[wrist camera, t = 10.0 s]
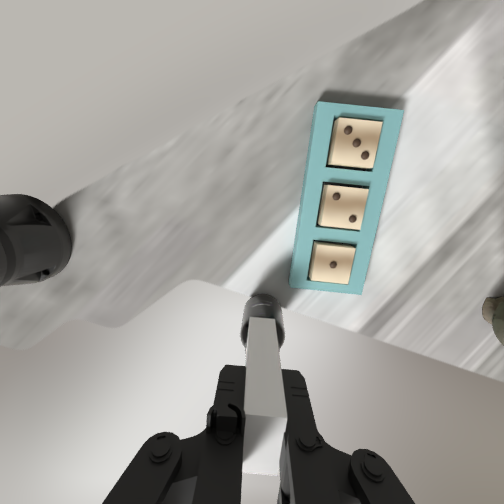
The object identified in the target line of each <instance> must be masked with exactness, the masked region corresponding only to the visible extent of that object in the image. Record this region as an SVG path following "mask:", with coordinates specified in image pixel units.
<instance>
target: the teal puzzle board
mask: <svg viewBox="0 0 504 504" xmlns="http://www.w3.org/2000/svg"><path fill="white" fill-rule="evenodd" d="M403 113H404V110H398V109H388V108H378V107H369V106H359V105H349V104H339V103H330V102H320V101H318V102H317V104H316V105H315V106H314V113H313V120H312V127H311V133H310V140H309V147H308V154H307V160H306V167H305V174H304V181H303V188H302V194H301V201H300V208H299V215H298V222H297V228H296V235H295V242H294V249H293V255H292V262H291V269H290V276H289V285H290V287H291V288H300V289H310V290H320V291H329V292H339V293H348V294H358V295H362V290H363V286H364V282H365V277H366V273H367V269H368V264H369V260H370V256H371V252H372V247H373V243H374V239H375V234H376V230H377V226H378V221H379V217H380V213H381V208H382V204H383V200H384V195H385V191H386V187H387V182H388V178H389V174H390V169H391V165H392V161H393V156H394V152H395V148H396V143H397V139H398V135H399V130H400V126H401V122H402V117H403ZM338 118H349V119H359V120H369V121H378V122H383V123H382V128H381V133H380V137H379V142H378V147H377V151H376V156H375V161H374V165H373V168H368V169H366V171H357V170H347V169H338V168H328V167H326V161H327V155H328V149H329V143H330V137H331V131H332V125H333V120H337V119H338ZM323 182H330V183H340V184H350V185H359V186H363V189H369V191H368V196H367V201H366V205H365V210H364V215H363V219H362V224H361V229H360V230H357V229H348V228H338V227H328V226H319V225H316V220H317V214H318V208H319V202H320V196H321V191H322V185H323ZM313 240H321V241H331V242H340V243H350V244H351V246H353V247H354V248H356V250H355V254H354V259H353V264H352V268H351V273H350V278H349V282H348V284H340V283H331V282H321V281H312V280H311V279H310V277H309V276H307V274H308V268H309V262H310V256H311V250H312V244H313Z"/></svg>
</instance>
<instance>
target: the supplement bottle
mask: <svg viewBox="0 0 504 504" xmlns="http://www.w3.org/2000/svg"><path fill="white" fill-rule="evenodd" d="M250 317H257V318H268V319H275V324H276V332H277V340H278V347H279V349H280V348H281V346H282V345H283V343H284V339H285V332H284V324H283V317H282V310H281V306H280V304H279V302H278V301H277V300H276V299H275V298H274V297H272V296H270V295H267V294H259V295H255V296H253V297H252V298H250V300H248V301H247V303H246V305H245V309H244V314H243V320H242V327H241V341H242V343H243V345H244V347H245V351H246V349H247V339H248V329H249V319H250Z"/></svg>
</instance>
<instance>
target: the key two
mask: <svg viewBox="0 0 504 504" xmlns="http://www.w3.org/2000/svg"><path fill="white" fill-rule="evenodd" d="M368 191H369V189H361V188H352V187H342V186H332V185H324V186H323V192H322V198H321V204H320V210H319V216H318V222H317V223H318V224H319V225H321V226H328V227H338V228H348V229H357V230H360V229H361V224H362V219H363V215H364V210H365V205H366V201H367V196H368Z"/></svg>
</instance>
